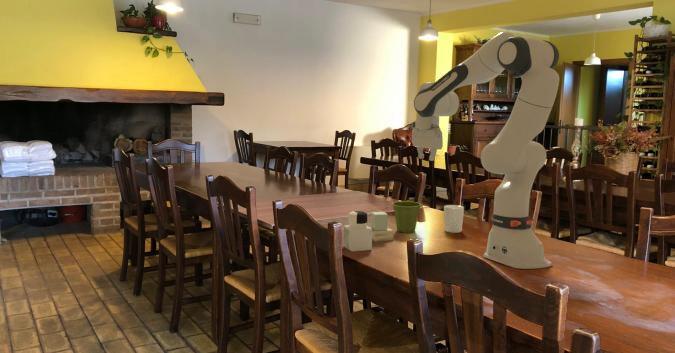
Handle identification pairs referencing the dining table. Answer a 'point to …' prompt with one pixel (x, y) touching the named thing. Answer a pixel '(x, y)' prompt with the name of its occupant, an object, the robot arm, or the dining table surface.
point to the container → (357, 232)
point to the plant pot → (406, 215)
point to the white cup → (453, 218)
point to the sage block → (379, 220)
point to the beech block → (382, 235)
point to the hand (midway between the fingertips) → (426, 159)
